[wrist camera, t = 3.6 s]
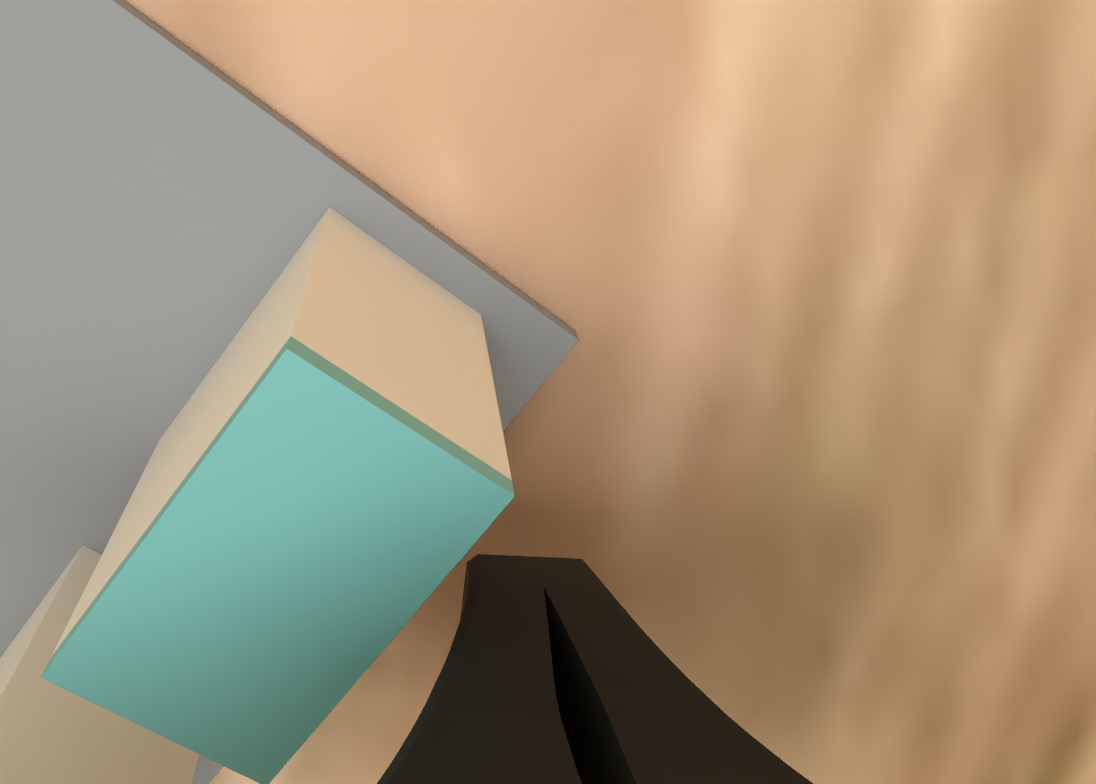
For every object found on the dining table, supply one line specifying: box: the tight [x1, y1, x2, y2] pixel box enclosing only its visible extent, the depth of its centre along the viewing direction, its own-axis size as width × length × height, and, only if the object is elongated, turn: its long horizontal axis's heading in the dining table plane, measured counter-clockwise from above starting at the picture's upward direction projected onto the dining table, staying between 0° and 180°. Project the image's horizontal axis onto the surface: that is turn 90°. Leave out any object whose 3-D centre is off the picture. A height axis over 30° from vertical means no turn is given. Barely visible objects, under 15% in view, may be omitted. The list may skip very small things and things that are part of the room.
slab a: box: [41, 207, 515, 784], centre depth 12 cm, size 2×4×5 cm, turn 142°
